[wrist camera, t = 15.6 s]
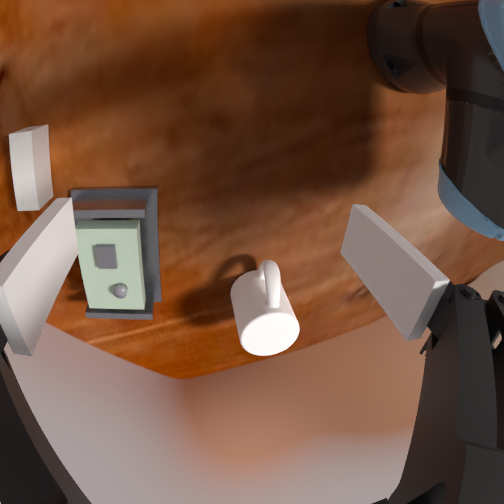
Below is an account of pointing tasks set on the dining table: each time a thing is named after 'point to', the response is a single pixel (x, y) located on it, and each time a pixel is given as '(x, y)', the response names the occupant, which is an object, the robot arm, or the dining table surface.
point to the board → (111, 263)
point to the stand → (31, 167)
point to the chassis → (146, 210)
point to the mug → (263, 311)
